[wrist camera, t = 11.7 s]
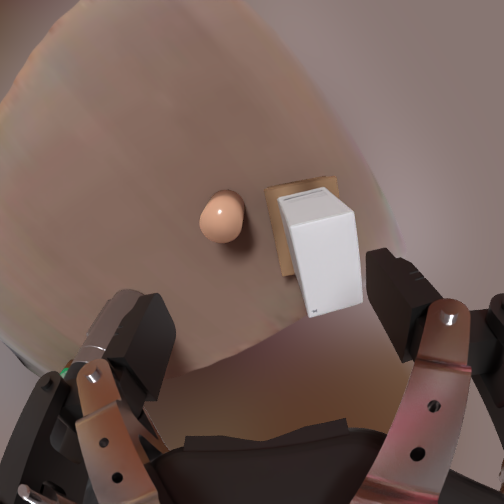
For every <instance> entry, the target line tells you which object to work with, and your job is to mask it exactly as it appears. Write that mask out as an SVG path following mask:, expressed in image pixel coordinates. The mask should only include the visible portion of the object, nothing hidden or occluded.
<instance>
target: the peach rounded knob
mask: <svg viewBox="0 0 504 504" xmlns="http://www.w3.org/2000/svg"><path fill="white" fill-rule="evenodd" d="M244 211H245V205H244V201H243V199H242V198H241V196H240V195H239V194H237V193H236V192H234V191H231V190H221V191H218V192H216V193H215V194H214V195H213V196H212V197H211V199H210V200H209V202H208V204H207V205H206V207H205V209H204V211H203V212H202V214H201V217H200V228H201V231H202V232H203V234H204V235H205V236H206V237H207V238H208V239H209V240H211V241H213V242H216V243H227V242H230V241H232V240H234V239H235V238H236V237H237V236H238V235H239V233H240V231H241V228H242V223H243V217H244Z"/></svg>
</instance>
